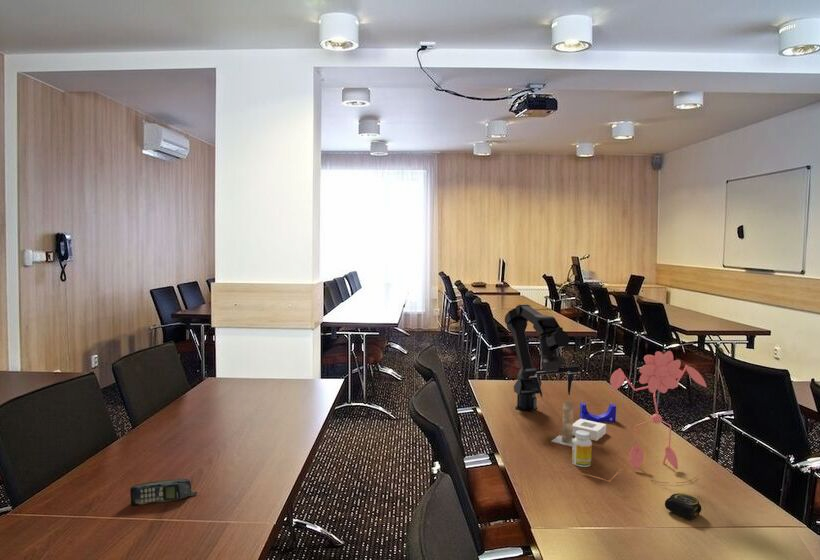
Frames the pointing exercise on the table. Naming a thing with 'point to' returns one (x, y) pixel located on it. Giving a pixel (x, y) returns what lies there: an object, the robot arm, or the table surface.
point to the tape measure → (683, 505)
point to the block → (590, 428)
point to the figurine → (658, 376)
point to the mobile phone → (160, 491)
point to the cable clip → (598, 418)
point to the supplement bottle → (582, 449)
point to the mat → (559, 440)
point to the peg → (567, 422)
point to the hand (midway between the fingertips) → (555, 396)
